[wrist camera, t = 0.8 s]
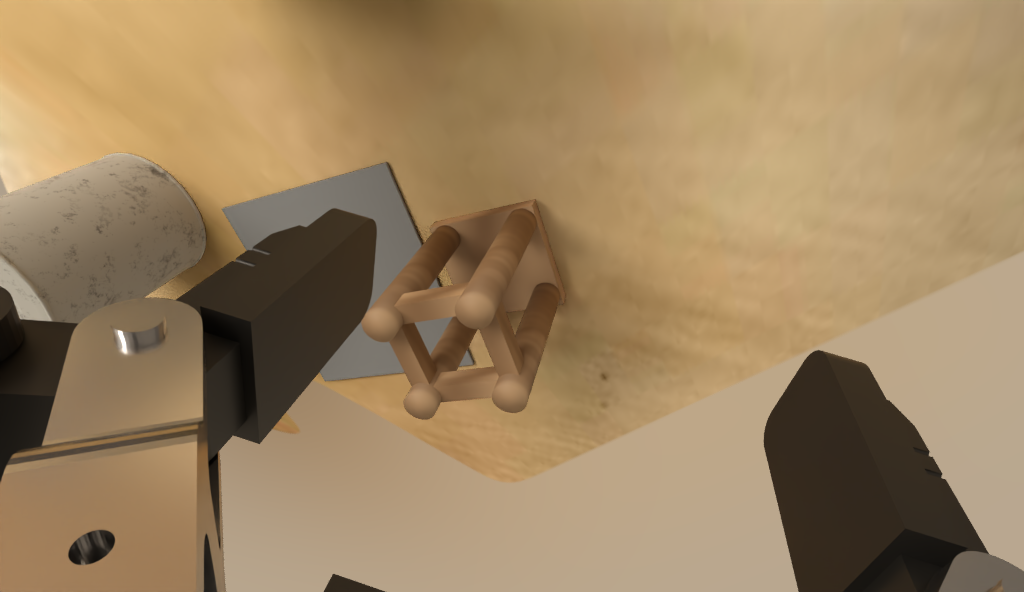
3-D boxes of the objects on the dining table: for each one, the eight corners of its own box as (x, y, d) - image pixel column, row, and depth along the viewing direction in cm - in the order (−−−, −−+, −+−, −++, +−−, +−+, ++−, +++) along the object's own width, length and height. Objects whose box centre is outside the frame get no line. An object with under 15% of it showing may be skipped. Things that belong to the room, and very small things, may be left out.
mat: (387, 162, 34) (385, 163, 34) (474, 362, 41) (473, 364, 41) (223, 207, 39) (221, 208, 39) (326, 379, 46) (325, 381, 46)
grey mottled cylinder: (151, 135, 37) (-40, 205, 27) (230, 256, 42) (89, 355, 32) (67, 172, 41) (-129, 245, 31) (147, 279, 45) (-3, 375, 35)
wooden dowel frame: (535, 199, 33) (484, 293, 24) (566, 296, 36) (531, 411, 27) (434, 221, 36) (355, 314, 27) (471, 310, 39) (411, 420, 30)
